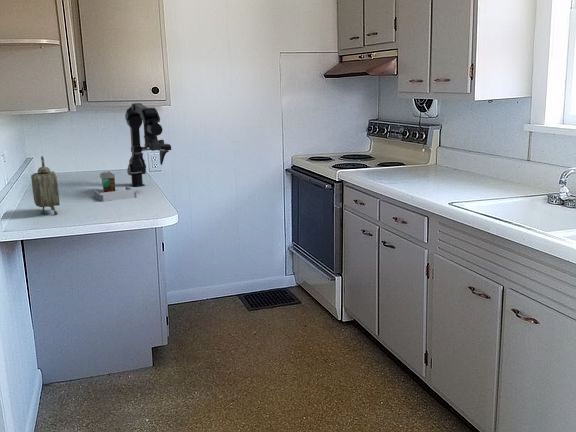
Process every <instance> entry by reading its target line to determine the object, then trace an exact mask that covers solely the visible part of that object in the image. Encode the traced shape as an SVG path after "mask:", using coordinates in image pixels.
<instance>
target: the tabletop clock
mask: <svg viewBox="0 0 576 432" xmlns="http://www.w3.org/2000/svg"><path fill="white" fill-rule="evenodd" d="M40 159H41V166H40V167H38V169H37V172H35V173H32V174H31V175H30V177H31V178H30V180H31V186H32V187H31V188H32V196H33V201H34V204H35V206H36V207H39V208H42V209H41V211H40V214H42V215H43V214H45V213H46V212H45V208H47V207H49V208H50V210H52V211H53V214H54V215H55V216H57V215H58V214H59V212H58V211H57V210H55V209H56V207H57V206H60V202H61V201H60V194H59V193H60V192H59V185H58V177H57V173H56V172H55V171H53V170H51V169H50V167H48V166H46V165H45V158H44V156H43V155H41V156H40Z"/></svg>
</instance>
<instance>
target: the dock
mask: <svg viewBox="0 0 576 432" xmlns="http://www.w3.org/2000/svg"><path fill="white" fill-rule="evenodd" d="M92 193H93V194H92V195H93V197H95V199H97V200H98V201H99V202H109V201H116V200H117V201H118V200H126V199H133V198H137V189H136V188H131V187H129V186H128V185H127V186H125V189H123V190H115V191H113V192H104V191H103V192H99V191H98V190H96V189H93V191H92Z"/></svg>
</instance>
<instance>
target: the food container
mask: <svg viewBox="0 0 576 432" xmlns="http://www.w3.org/2000/svg"><path fill="white" fill-rule="evenodd" d="M99 178H101V184H102V190H103V193H104V192H113V191H116V181H115V180H116V179H115V173H113V172H111V170H103V171H100V174H99Z"/></svg>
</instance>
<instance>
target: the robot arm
mask: <svg viewBox="0 0 576 432" xmlns="http://www.w3.org/2000/svg"><path fill="white" fill-rule="evenodd" d="M124 117H125V121H126V124H127V126H128V127H129V128H130V129H129V130H130V143H131V144H130V146H131V147H130V152H131V156H130V158H129V160H128V161H129V163H128V165H127V169H126V173H127V175H128V176H131V183H130V184H129V185H130V186H131V187H133V188H135V187H142V186H146V184H145V183H143V182H144V181H143V175H146V173H147V172H146V171H147V165H146V163H145V159H144V156H143V155H144V152H145V151H152V152H155V151H159V162H160V165H161V166H162V165H163V162H164V160H165V156H166V154H167V153H169V151H172V145H171V144H170V143H165V141H164V139H158V136H160V135H161V134H162V133H163V126H162V125H161V124H160V122H161V117H160V115H159V113H158V109H156V107H147V106H145V105H144V104H143V103H139V102H136V103H132V104H131V105H130V107H129V108H128V109H126V110H125V115H124ZM142 125H143V138H144V146H141V134H140V133H141V132H140V128H141V126H142Z"/></svg>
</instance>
